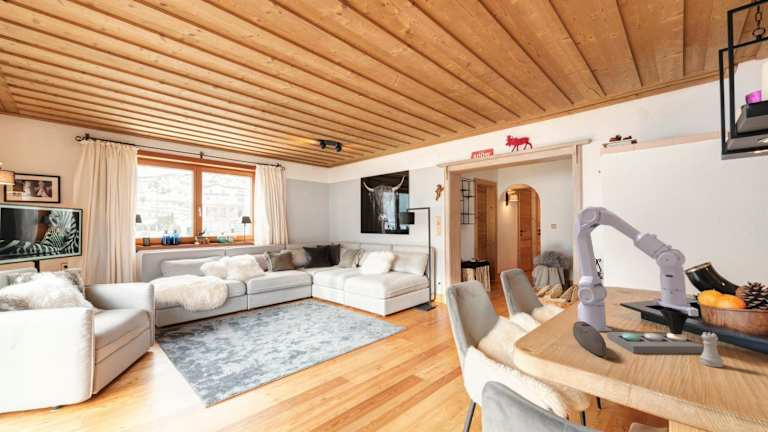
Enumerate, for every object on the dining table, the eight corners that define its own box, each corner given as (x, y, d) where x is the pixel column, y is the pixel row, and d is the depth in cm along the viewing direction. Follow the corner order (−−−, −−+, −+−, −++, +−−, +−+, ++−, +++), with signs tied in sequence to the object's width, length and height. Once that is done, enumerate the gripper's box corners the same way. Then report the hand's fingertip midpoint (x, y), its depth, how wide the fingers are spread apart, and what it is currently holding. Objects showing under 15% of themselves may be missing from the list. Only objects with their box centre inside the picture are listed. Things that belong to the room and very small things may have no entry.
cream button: (663, 336, 101) (663, 332, 101) (678, 336, 100) (678, 332, 100) (674, 341, 96) (674, 337, 96) (690, 341, 96) (690, 337, 96)
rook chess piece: (729, 368, 82) (726, 336, 82) (708, 367, 83) (706, 336, 83) (715, 361, 86) (712, 331, 87) (695, 360, 87) (693, 330, 88)
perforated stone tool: (614, 360, 89) (612, 335, 89) (593, 360, 90) (592, 334, 90) (589, 342, 104) (588, 320, 104) (571, 341, 105) (570, 319, 105)
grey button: (641, 336, 101) (640, 333, 101) (656, 336, 101) (655, 333, 101) (651, 341, 97) (651, 337, 97) (667, 341, 97) (666, 337, 97)
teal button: (619, 337, 102) (618, 333, 102) (634, 336, 102) (633, 333, 102) (628, 341, 98) (627, 337, 98) (643, 341, 97) (643, 337, 97)
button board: (607, 338, 106) (606, 332, 106) (672, 338, 104) (672, 331, 104) (633, 353, 93) (633, 346, 94) (708, 353, 91) (708, 346, 92)
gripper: (708, 293, 91) (712, 342, 91) (668, 284, 106) (671, 326, 105) (681, 293, 92) (685, 342, 92) (645, 285, 107) (648, 326, 106)
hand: (676, 333), depth 98 cm, fingers closed
